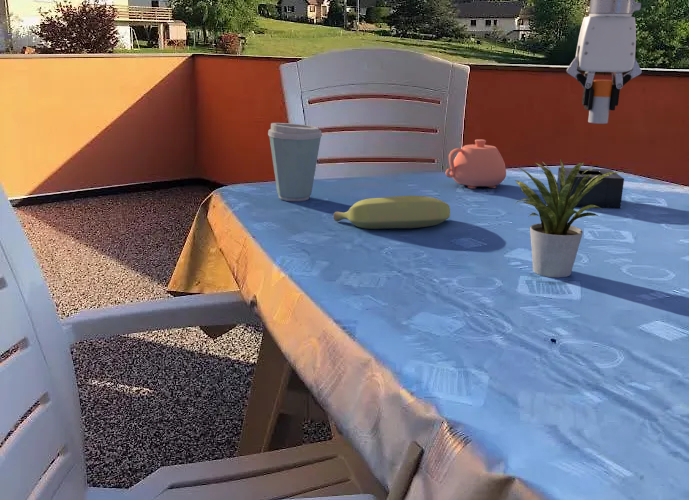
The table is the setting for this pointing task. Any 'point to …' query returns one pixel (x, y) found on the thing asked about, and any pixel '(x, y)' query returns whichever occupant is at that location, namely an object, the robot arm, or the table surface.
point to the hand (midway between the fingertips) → (599, 108)
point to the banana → (396, 212)
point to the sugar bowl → (477, 165)
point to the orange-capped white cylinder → (600, 101)
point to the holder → (597, 188)
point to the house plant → (557, 221)
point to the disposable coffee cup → (294, 159)
